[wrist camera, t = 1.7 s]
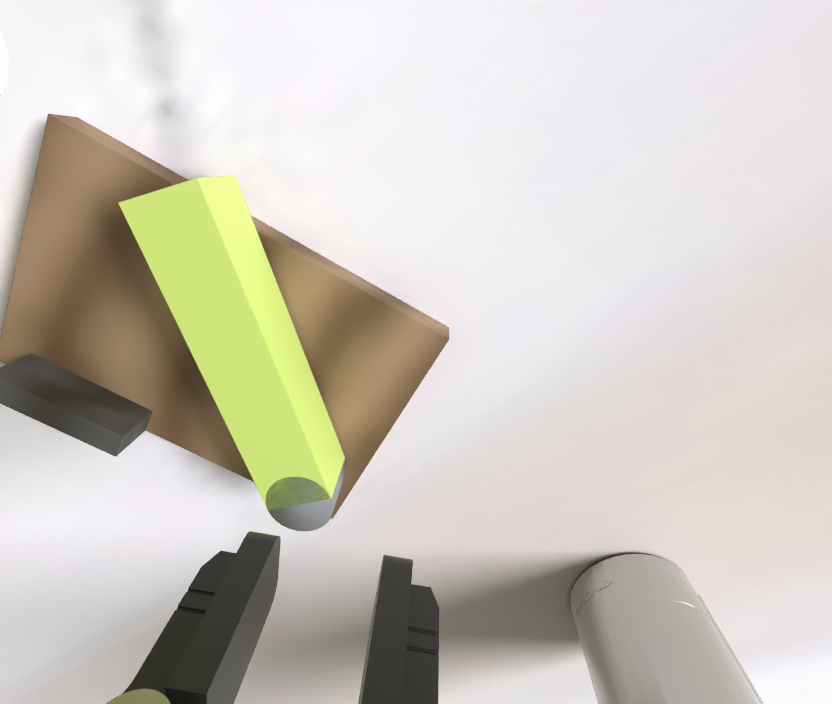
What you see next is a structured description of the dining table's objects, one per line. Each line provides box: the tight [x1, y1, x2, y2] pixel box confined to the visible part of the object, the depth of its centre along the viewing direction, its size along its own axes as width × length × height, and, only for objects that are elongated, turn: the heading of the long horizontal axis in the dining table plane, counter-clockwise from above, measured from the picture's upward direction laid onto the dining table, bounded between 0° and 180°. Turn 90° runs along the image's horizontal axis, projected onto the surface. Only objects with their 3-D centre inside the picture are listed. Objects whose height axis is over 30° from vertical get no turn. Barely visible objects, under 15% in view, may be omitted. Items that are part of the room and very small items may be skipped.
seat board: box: [0, 114, 449, 519], centre depth 28 cm, size 24×16×5 cm, turn 60°
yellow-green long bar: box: [118, 176, 347, 531], centre depth 26 cm, size 20×4×4 cm, turn 15°
